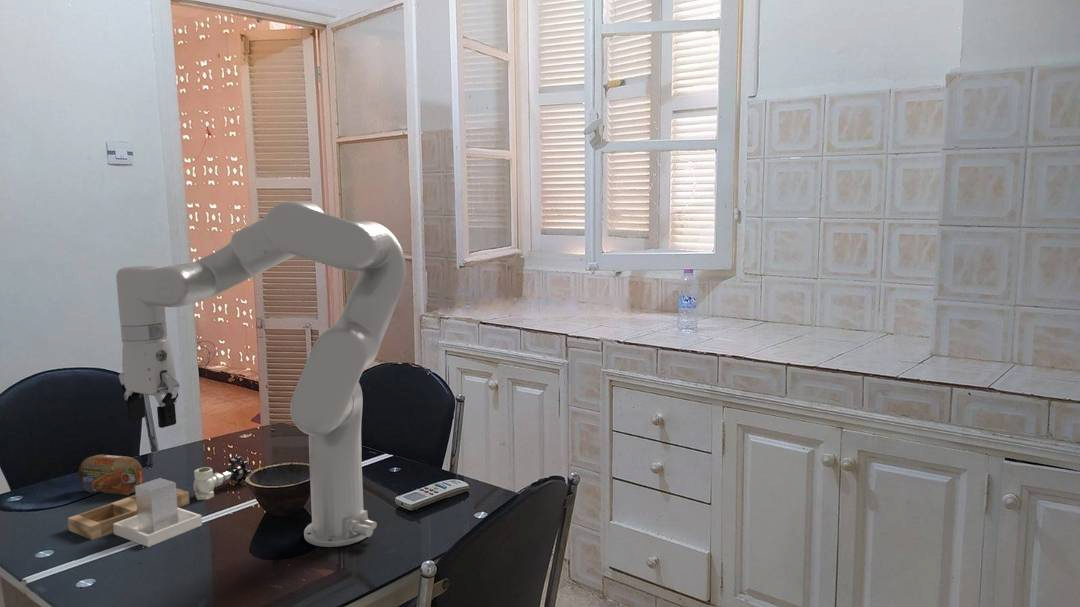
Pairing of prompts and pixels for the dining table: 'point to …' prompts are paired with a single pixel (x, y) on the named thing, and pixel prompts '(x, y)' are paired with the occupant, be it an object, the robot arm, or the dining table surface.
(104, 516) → the wooden compartment tray
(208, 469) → the valve
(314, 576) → the dining table surface
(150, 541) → the dish
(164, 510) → the gray rectangular block
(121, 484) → the tin
